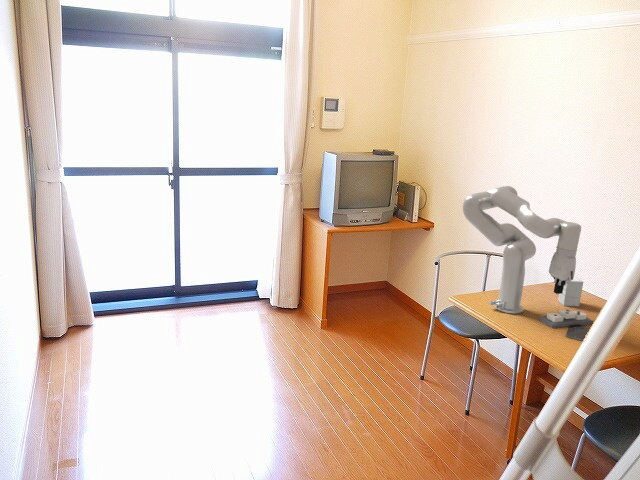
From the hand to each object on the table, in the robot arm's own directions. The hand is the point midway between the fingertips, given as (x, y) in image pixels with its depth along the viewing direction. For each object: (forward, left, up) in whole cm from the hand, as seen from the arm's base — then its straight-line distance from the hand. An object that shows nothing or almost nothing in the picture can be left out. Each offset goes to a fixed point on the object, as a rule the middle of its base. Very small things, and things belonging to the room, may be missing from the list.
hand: (557, 292), depth 212 cm
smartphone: (+4, -10, -14) cm, 18 cm away
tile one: (0, 0, -12) cm, 12 cm away
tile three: (+12, 0, -12) cm, 17 cm away
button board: (+6, 0, -14) cm, 15 cm away
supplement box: (+23, +18, -14) cm, 32 cm away
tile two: (+6, 0, -11) cm, 13 cm away
